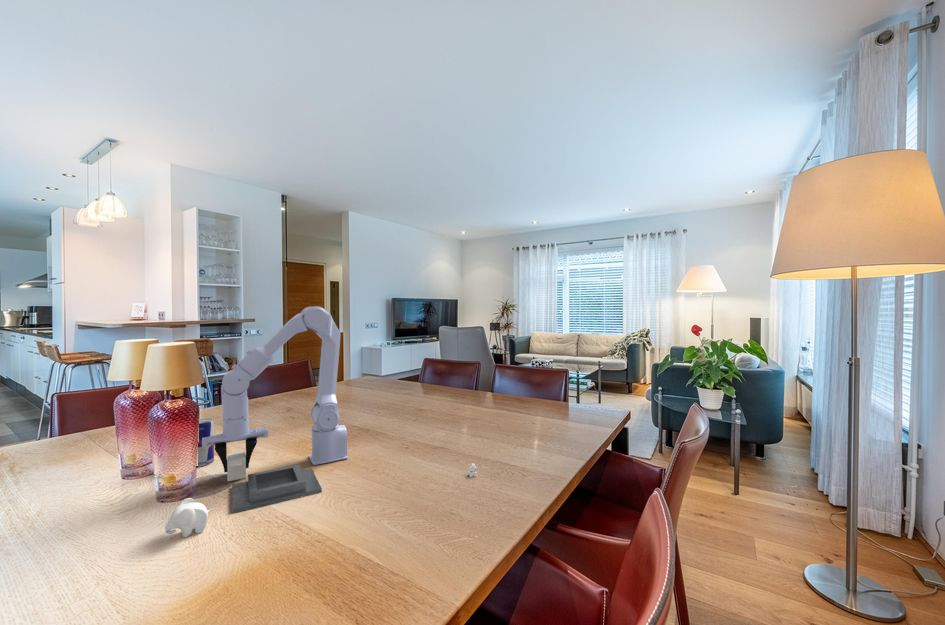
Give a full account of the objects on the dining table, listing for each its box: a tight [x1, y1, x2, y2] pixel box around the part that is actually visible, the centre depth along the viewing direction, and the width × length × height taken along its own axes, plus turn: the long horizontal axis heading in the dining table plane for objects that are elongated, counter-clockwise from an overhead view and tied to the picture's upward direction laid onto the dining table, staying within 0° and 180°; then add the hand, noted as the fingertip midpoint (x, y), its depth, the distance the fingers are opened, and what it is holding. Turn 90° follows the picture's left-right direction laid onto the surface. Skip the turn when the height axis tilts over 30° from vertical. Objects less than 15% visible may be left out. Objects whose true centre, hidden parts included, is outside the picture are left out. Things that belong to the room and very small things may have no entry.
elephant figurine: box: [164, 497, 215, 538], centre depth 75 cm, size 7×8×6 cm
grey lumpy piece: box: [467, 462, 478, 478], centre depth 101 cm, size 3×3×3 cm
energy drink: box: [197, 418, 215, 468], centre depth 109 cm, size 5×5×12 cm
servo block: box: [226, 450, 247, 482], centre depth 101 cm, size 4×8×5 cm, turn 32°
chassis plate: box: [231, 464, 323, 514], centre depth 93 cm, size 18×14×3 cm
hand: (236, 469), depth 101 cm, fingers closed on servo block, 4 cm apart
